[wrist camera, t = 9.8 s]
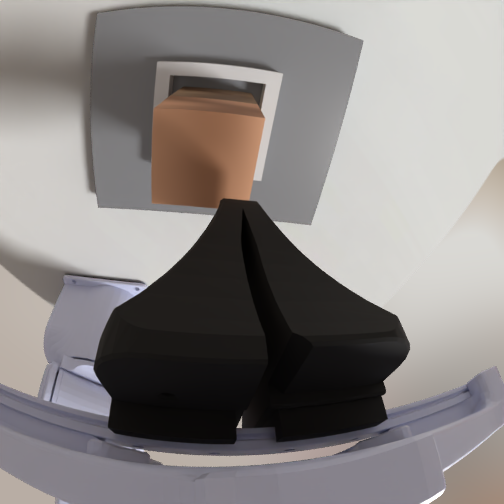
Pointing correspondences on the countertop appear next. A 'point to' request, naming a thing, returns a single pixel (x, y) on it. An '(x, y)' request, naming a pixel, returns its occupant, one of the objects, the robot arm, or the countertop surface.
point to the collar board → (226, 78)
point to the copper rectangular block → (204, 147)
